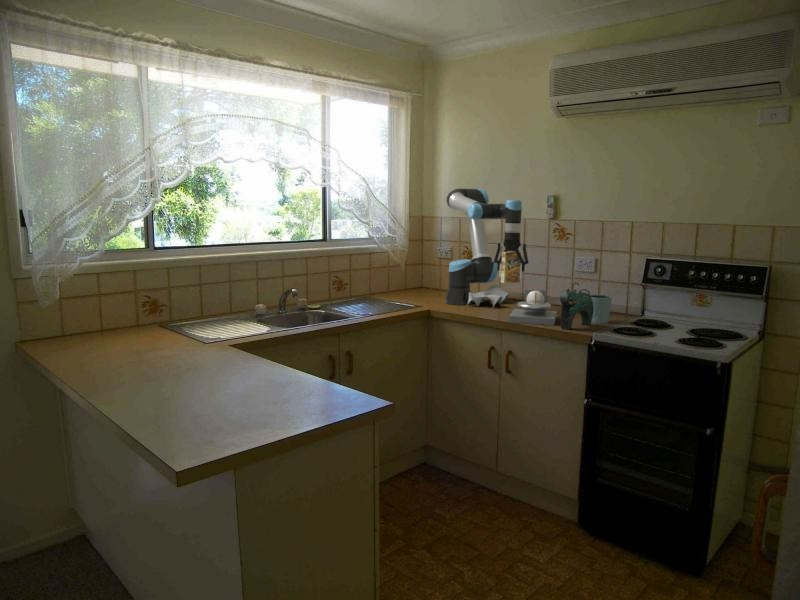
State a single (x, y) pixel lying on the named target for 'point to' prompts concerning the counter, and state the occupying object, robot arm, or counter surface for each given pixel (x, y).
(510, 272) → the candy box
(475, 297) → the white irregular piece
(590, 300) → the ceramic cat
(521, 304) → the scale pan
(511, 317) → the kitchen scale
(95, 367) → the counter surface
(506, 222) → the robot arm
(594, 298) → the pale blue cup
